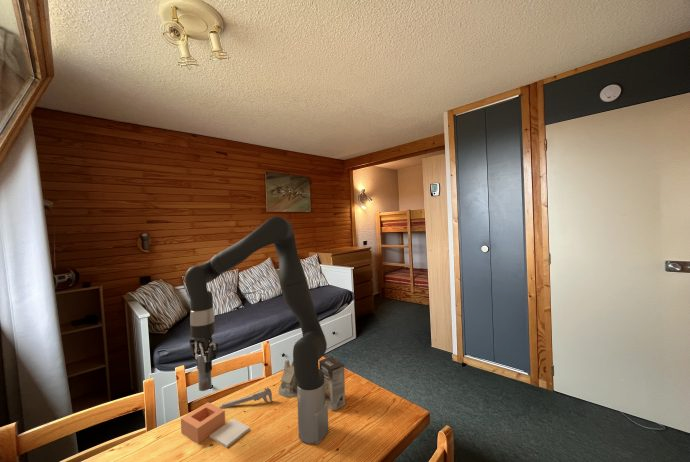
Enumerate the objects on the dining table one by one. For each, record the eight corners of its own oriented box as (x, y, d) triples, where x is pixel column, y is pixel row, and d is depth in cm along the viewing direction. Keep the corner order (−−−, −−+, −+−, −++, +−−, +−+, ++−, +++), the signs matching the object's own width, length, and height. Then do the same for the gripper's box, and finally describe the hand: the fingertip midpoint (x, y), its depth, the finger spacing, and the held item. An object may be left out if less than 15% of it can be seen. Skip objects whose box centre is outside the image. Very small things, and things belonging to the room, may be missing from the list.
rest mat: (249, 429, 94) (249, 427, 94) (226, 447, 86) (226, 445, 86) (233, 420, 99) (232, 418, 99) (209, 437, 91) (209, 435, 91)
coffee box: (319, 400, 109) (318, 360, 109) (332, 394, 113) (331, 355, 113) (332, 411, 102) (331, 369, 102) (345, 404, 106) (344, 363, 106)
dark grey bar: (214, 386, 96) (212, 352, 96) (203, 392, 92) (201, 357, 92) (207, 383, 98) (205, 350, 98) (196, 389, 94) (195, 354, 94)
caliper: (272, 401, 110) (271, 386, 110) (271, 403, 109) (271, 387, 109) (219, 407, 107) (218, 391, 107) (218, 409, 106) (217, 393, 106)
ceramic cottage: (273, 390, 116) (274, 356, 116) (302, 375, 129) (303, 344, 129) (296, 407, 106) (298, 369, 106) (325, 389, 119) (327, 355, 119)
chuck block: (225, 424, 97) (224, 410, 97) (198, 443, 88) (197, 428, 88) (208, 415, 102) (208, 402, 102) (181, 432, 93) (180, 418, 93)
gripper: (224, 320, 94) (226, 369, 94) (201, 315, 102) (202, 361, 102) (204, 327, 88) (206, 380, 88) (180, 321, 95) (182, 370, 95)
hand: (204, 369), depth 95 cm, fingers closed on dark grey bar, 4 cm apart
